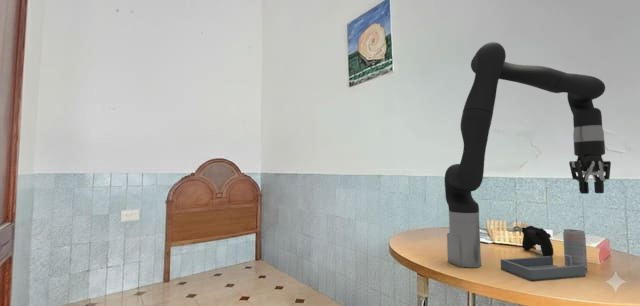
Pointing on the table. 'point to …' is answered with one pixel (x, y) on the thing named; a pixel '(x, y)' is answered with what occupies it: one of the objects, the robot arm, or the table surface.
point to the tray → (540, 268)
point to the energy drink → (575, 248)
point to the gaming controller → (537, 240)
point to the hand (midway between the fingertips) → (592, 193)
